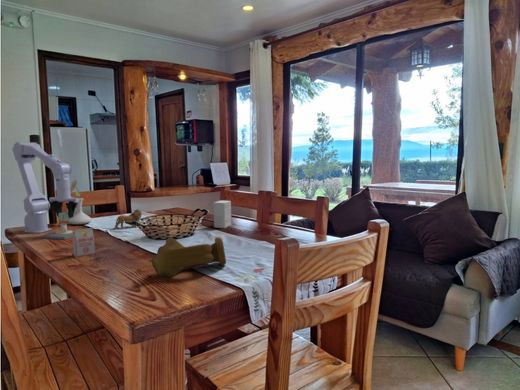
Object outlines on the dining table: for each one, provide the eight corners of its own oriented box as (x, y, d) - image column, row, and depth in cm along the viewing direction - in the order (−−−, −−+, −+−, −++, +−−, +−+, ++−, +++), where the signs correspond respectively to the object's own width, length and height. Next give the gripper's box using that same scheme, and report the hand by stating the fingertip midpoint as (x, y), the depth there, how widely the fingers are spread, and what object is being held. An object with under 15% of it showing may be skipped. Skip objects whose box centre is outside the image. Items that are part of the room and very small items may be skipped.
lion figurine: (140, 224, 193) (139, 208, 192) (144, 226, 189) (143, 209, 188) (112, 228, 183) (111, 211, 182) (115, 230, 179) (114, 212, 178)
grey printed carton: (73, 255, 138) (71, 229, 137) (92, 251, 142) (90, 227, 141) (76, 257, 135) (74, 231, 134) (95, 253, 140) (93, 228, 138)
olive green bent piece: (159, 241, 129) (220, 229, 131) (165, 277, 127) (227, 264, 129) (147, 238, 111) (218, 224, 113) (154, 280, 109) (226, 265, 111)
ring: (56, 221, 169) (55, 214, 168) (65, 218, 174) (64, 212, 174) (66, 221, 167) (66, 214, 167) (75, 219, 173) (74, 212, 172)
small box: (220, 224, 193) (220, 200, 191) (231, 225, 191) (231, 200, 189) (213, 227, 185) (213, 202, 184) (224, 228, 183) (224, 202, 181)
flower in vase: (71, 222, 200) (67, 177, 197) (93, 221, 204) (90, 177, 200) (66, 227, 188) (62, 179, 185) (90, 225, 191) (86, 178, 188)
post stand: (42, 238, 165) (41, 226, 164) (64, 231, 178) (63, 220, 177) (65, 239, 162) (64, 227, 162) (85, 232, 175) (84, 221, 174)
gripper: (82, 187, 171) (84, 216, 173) (56, 187, 174) (58, 215, 176) (71, 189, 164) (74, 218, 166) (44, 189, 167) (47, 217, 169)
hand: (65, 217), depth 170 cm, fingers closed on ring, 6 cm apart
